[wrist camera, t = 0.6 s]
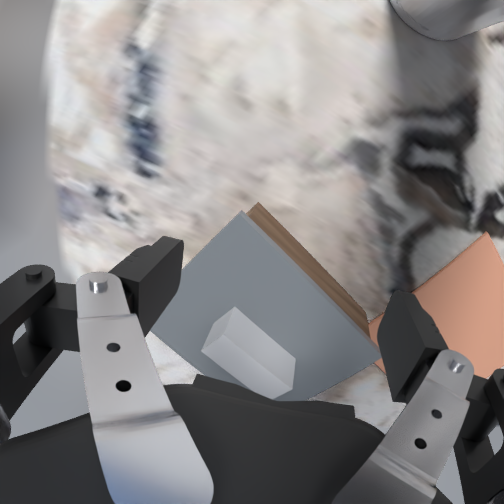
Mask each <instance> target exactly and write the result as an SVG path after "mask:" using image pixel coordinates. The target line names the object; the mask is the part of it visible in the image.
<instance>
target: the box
mask: <svg viewBox="0 0 504 504" xmlns="http://www.w3.org/2000/svg"><path fill="white" fill-rule="evenodd" d="M246 215H247V216H248V217H249V218H250V219H251V220H252V221H254V222H255V223H256V224H257V225H258V226H259V227H260V228H261V229H262V230H263V231H264V232H265V233H266V234H267V235H268V236H269V237H270V238H271V239H272V240H273V241H274V242H275V243H276V244H277V245H278V246H279V247H280V248H281V249H282V250H283V251H284V252H285V253H286V254H287V255H288V256H289V257H290V258H291V259H292V260H293V261H294V262H295V263H296V264H297V265H298V266H299V267H300V268H301V269H302V270H303V271H304V272H305V273H306V274H307V275H308V276H309V277H310V278H311V279H312V280H313V281H314V282H315V283H316V284H317V285H318V286H319V287H320V288H321V289H322V290H323V291H324V292H325V293H326V294H327V295H328V296H329V297H330V298H331V299H332V300H333V301H334V302H335V303H336V304H337V305H338V306H339V307H340V308H341V309H342V310H343V311H344V312H345V313H346V314H347V315H348V316H349V317H350V318H351V319H352V320H353V321H354V322H355V323H356V324H357V325H358V326H359V327H360V328H361V329H362V330H363V331H364V332H365V334H366V335H367V336H368V337H369V338H370V339H371V337H370V332H369V326H368V321H367V316H366V312H365V311H364V310H363V309H362V308H361V307H360V306H359V305H358V304H357V302H356V301H355V300H354V299H353V298H352V297H351V296H350V295H349V294H348V293H347V292H346V291H345V290H344V289H343V288H342V287H341V286H340V285H339V283H338V282H337V281H336V280H335V279H334V278H333V277H332V276H331V275H330V274H329V273H328V272H327V271H326V270H325V269H324V268H323V267H322V266H321V265H320V264H319V263H318V262H317V261H316V260H315V259H314V258H313V257H312V255H311V254H310V253H309V252H308V251H307V250H306V249H305V248H304V247H303V246H302V245H301V244H300V243H299V242H298V241H297V240H296V239H295V238H294V237H293V236H292V235H291V234H290V233H289V232H288V231H287V230H286V229H285V228H284V227H283V226H282V225H281V224H280V223H279V222H278V221H277V220H276V219H275V218H274V217H273V216H272V215H271V214H270V213H269V212H268V211H267V210H266V209H265V208H264V207H263V206H262V205H261V204H260V203H259V202H258V203H257V204H256V205H255V206H254V207H253V208H252V209H251V210H250V211H248V212H247V213H246Z"/></svg>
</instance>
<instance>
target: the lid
mask: <svg viewBox="0 0 504 504" xmlns="http://www.w3.org/2000/svg"><path fill="white" fill-rule="evenodd" d="M150 331H151V332H152V333H153V334H155V335H156V336H157V337H158V338H159V339H160V340H162V341H163V342H164V343H165V344H166V345H168V346H169V347H170V348H171V349H172V350H174V351H175V352H176V353H177V354H179V355H180V356H181V357H182V358H183V359H185V360H186V361H187V362H188V363H190V364H191V365H192V366H194V367H195V368H196V369H197V370H199V371H200V372H201V373H203V374H204V375H205V376H207V377H211V378H215V379H219V380H222V381H226V382H230V383H234V384H237V385H240V386H242V387H244V388H246V389H249V390H251V391H253V392H256V393H258V394H260V395H263V396H265V397H267V398H270V399H272V400H276V401H305V400H307V399H309V398H311V397H313V396H315V395H317V394H319V393H321V392H323V391H325V390H326V389H328V388H330V387H332V386H334V385H336V384H338V383H339V382H341V381H343V380H345V379H347V378H348V377H350V376H352V375H354V374H355V373H357V372H359V371H361V370H362V369H364V368H366V367H367V366H369V365H371V364H373V363H374V362H376V361H377V360H379V359H381V358H382V356H381V352H380V349H379V347H378V346H377V345H376V344H375V343H374V342H373V341H372V340H371V339H370V338H369V337H368V336H367V335H366V334H365V332H364V331H363V330H362V329H361V328H360V327H359V326H358V325H357V324H356V323H355V322H354V321H353V320H352V319H351V318H350V317H349V316H348V315H347V314H346V313H345V312H344V311H343V310H342V309H341V308H340V307H339V306H338V305H337V304H336V303H335V302H334V301H333V300H332V299H331V298H330V297H329V296H328V295H327V294H326V293H325V292H324V291H323V290H322V289H321V288H320V287H319V286H318V285H317V284H316V283H315V282H314V281H313V280H312V279H311V278H310V277H309V276H308V275H307V274H306V273H305V272H304V271H303V270H302V269H301V268H300V267H299V266H298V265H297V264H296V263H295V262H294V261H293V260H292V259H291V258H290V257H289V256H288V255H287V254H286V253H285V252H284V251H283V250H282V249H281V248H280V247H279V246H278V245H277V244H276V243H275V242H274V241H273V240H272V239H271V238H270V237H269V236H268V235H267V234H266V233H265V232H264V231H263V230H262V229H261V228H260V227H259V226H258V225H257V224H256V223H255V222H254V221H252V220H251V219H250V218H249V217H248V216H247V215H246V214H245V213H244V212H243V211H242V210H241V211H240V212H239V213H238V214H237V215H236V216H235V217H234V218H233V219H232V220H231V221H230V222H229V223H228V224H227V225H226V226H225V227H224V228H223V229H222V230H221V231H220V232H219V233H218V234H217V235H216V236H215V237H214V238H213V239H212V240H211V241H210V242H209V243H208V244H207V245H206V246H205V247H204V248H203V249H202V250H201V251H200V252H199V253H198V254H197V255H196V256H195V257H194V258H193V259H192V260H191V261H190V262H189V263H188V264H187V265H186V266H185V267H184V268H183V269H182V270H181V280H180V285H179V288H178V291H177V293H176V295H175V296H174V297H173V299H172V300H171V302H170V303H169V304H168V306H167V307H166V309H165V310H164V311H163V313H162V314H161V316H160V317H159V318H158V320H157V321H156V323H155V324H154V325H153V327H152V328H151V330H150Z"/></svg>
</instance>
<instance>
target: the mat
mask: <svg viewBox="0 0 504 504" xmlns="http://www.w3.org/2000/svg"><path fill="white" fill-rule="evenodd" d="M412 294H415V296H416V297H417V299H418V301H419V303H420V305H421V306H422V308H423V309H424V310H425V311H426V312H427V313H428V314H429V315H430V316H431V317H432V318H433V320H434V322H435V324H436V326H437V327H438V329H439V331H440V333H441V335H442V337H443V338H444V340H445V342H446V344H447V346H448V348H449V350H454V351H456V352H459V353H461V354H462V355H464V356H465V357H466V358H467V359H469V361H470V362H471V363H472V365H473V367H474V375H477V376H480V377H483V378H485V379H486V378H487V377H489V376H490V375H492V373H493V372H494V370H496V369H500V368H501V367H503V366H504V264H503V262H502V260H501V258H500V256H499V254H498V252H497V250H496V248H495V246H494V244H493V242H492V240H491V238H490V236H489V234H488V233H487V232H485V233H484V234H483V235H482V236H481V237H480V238H478V239H477V240H476V241H475V242H474V243H473V244H472V245H470V246H469V247H468V248H467V249H466V250H465V251H463V252H462V253H461V254H460V255H459V256H457V257H456V258H455V259H454V260H453V261H451V262H450V263H449V264H448V265H447V266H445V267H444V268H443V269H442V270H440V271H439V272H438V273H437V274H435V275H434V276H433V277H432V278H430V279H429V280H428V281H426V282H425V283H424V284H423V285H421V286H420V287H419V288H417V289H416V290H415V291H413V292H412ZM384 313H385V312H384ZM384 313H383V314H382V315H380V316H379V317H377V318H376V319H374V320H373V321H371V322H370V323H368V326H369V332H370V337H371V340H372V341H373V342H374V343H375V344H376V345H377V346H378V347H379V345H378V342H377V331H378V327H379V324H380V322H381V320H382V318H383V315H384ZM374 363H375V364H376V365H377V366H378V367H379V368H380V369H381V370H382V371H383V372H384V373H385V374H386V372H385V368H384V364H383V360H382V358H381V359H379V360H377V361H376V362H374Z"/></svg>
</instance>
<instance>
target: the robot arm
mask: <svg viewBox="0 0 504 504" xmlns="http://www.w3.org/2000/svg"><path fill="white" fill-rule="evenodd" d="M390 2H391V5H392V6H393V8H394V10H395V11H396V13H397V14H398V15H399V16H400V17H401V19H402V20H403V21H404V22H405V23H406V24H408V25H409V26H410V27H411V28H412V29H414V30H416V31H417V32H419V33H420V34H422V35H425V36H427V37H429V38H433V39H436V40H444V41H449V40H455V39H457V38H460V37H462V36H465V35H467V34H470V33H473V32H476V31H478V30H481V29H483V28H486V27H489V26H491V25H494V24H497V23H500V22H503V21H504V0H390ZM183 250H184V242H183V240H179V239H175V238H171V237H167V236H163V237H161V238H160V239H159V240H158V241H157V242H156V243H154V244H153V245H152V246H150V245H146V246H144V247H141V248H138V249H136V250H135V251H133V252H132V253H131V254H130V256H127V257H126V258H125V259H124V261H123V260H122V261H121V262H120V263H119V264H118V265H116V266H115V267H114V268H113V269H112V270H110V271H109V272H108V273H107V272H91V273H87V274H85V275H83V276H81V277H80V278H79V279H78V280H77V282H76V284H66V283H58V282H56V281H55V273H54V270H53V269H52V268H50V267H48V266H45V265H30V266H26V267H24V268H22V269H20V270H18V271H17V272H16V273H15V274H13V275H12V276H10V277H9V278H8V279H6V280H5V281H3V282H2V283H1V284H0V504H452V502H450V500H449V499H448V498H447V497H446V496H445V495H444V494H442V492H441V491H440V490H439V489H438V488H437V487H436V483H437V480H438V478H439V476H440V474H441V472H442V470H443V468H444V466H445V464H446V462H447V460H448V457H449V455H450V453H451V451H452V448H454V452H455V457H456V461H457V466H458V470H459V475H460V480H461V485H462V490H463V496H464V502H465V504H504V440H503V444H502V447H501V449H500V450H499V451H498V452H497V453H496V454H495V455H494V452H493V449H492V446H491V443H490V440H489V437H488V435H489V433H490V432H491V431H492V430H493V429H494V428H495V427H496V425H497V424H498V423H499V425H500V427H501V430H502V433H503V436H504V369H496V370H494V372H493V373H492V375H491V376H490V378H489V379H485V378H483V377H480V376H477V375H474V367H473V365H472V363H471V362H470V361H469V359H467V358H466V357H465V356H464V355H462V354H461V353H459V352H456V351H454V350H449V348H448V346H447V344H446V342H445V340H444V338H443V337H442V335H441V333H440V331H439V329H438V327H437V326H436V324H435V322H434V320H433V318H432V317H431V316H430V315H429V314H428V313H427V312H426V311H425V310H424V309H423V308H422V306H421V305H420V303H419V301H418V299H417V297H416V296H415V294H412V293H408V292H403V291H399V290H396V291H395V292H394V293H393V294H392V296H391V299H390V301H389V304H388V306H387V308H386V311H385V313H384V315H383V318H382V320H381V322H380V324H379V327H378V331H377V342H378V345H379V349H380V352H381V356H382V360H383V364H384V368H385V372H386V376H387V380H388V384H389V388H390V392H391V396H392V400H393V402H402V403H406V407H405V408H404V409H403V411H402V412H401V414H400V415H399V416H398V418H397V419H396V421H395V422H394V423H393V425H392V426H391V428H390V429H389V430H388V432H387V433H386V434H384V433H382V432H381V431H380V430H378V429H377V428H376V427H374V426H372V425H370V424H369V423H367V422H365V421H362V420H360V419H357V418H355V412H354V406H350V405H343V404H336V403H329V402H323V401H276V400H272V399H270V398H267V397H265V396H263V395H260V394H258V393H256V392H253V391H251V390H249V389H246V388H244V387H242V386H240V385H237V384H234V383H230V382H226V381H222V380H219V379H215V378H211V377H207V376H204V375H200V374H197V375H196V377H195V380H194V382H193V384H171V385H164V386H163V384H162V382H161V379H160V377H159V374H158V372H157V369H156V367H155V364H154V362H153V359H152V357H151V354H150V351H149V349H148V346H147V343H146V340H145V337H146V335H147V334H148V332H149V331H150V330H151V328H152V327H153V325H154V324H155V323H156V321H157V320H158V318H159V317H160V316H161V314H162V313H163V311H164V310H165V309H166V307H167V306H168V304H169V303H170V302H171V300H172V299H173V297H174V296H175V295H176V293H177V291H178V288H179V285H180V280H181V270H182V260H183ZM22 323H24V324H25V328H26V332H25V333H24V334H23V335H22V336H21V337H20V338H19V339H18V340H17V341H16V342H15V343H14V344H13V343H12V341H13V335H14V333H15V331H16V330H17V329H18V327H20V326H21V325H22ZM63 350H69V351H77V352H80V354H81V362H82V369H83V376H84V383H85V389H86V394H87V400H88V406H89V411H90V412H89V413H87V414H84V415H81V416H78V417H76V418H73V419H70V420H67V421H64V422H61V423H59V424H55V425H52V426H49V427H46V428H43V429H40V430H37V431H34V432H31V433H27V434H24V435H21V436H17V437H14V438H11V439H9V437H10V434H11V424H10V419H11V418H12V416H13V415H14V414H15V412H16V411H17V410H18V408H19V407H20V406H21V404H22V403H23V401H24V400H25V399H26V397H27V396H28V395H29V393H30V392H31V391H32V389H33V388H34V387H35V386H36V384H37V383H38V382H39V380H40V379H41V378H42V376H43V375H44V374H45V372H46V371H47V370H48V369H49V367H50V366H51V365H52V364H53V362H54V361H55V360H56V359H57V358H58V356H59V355H60V354H61V353H62V351H63ZM8 439H9V440H8Z"/></svg>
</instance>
